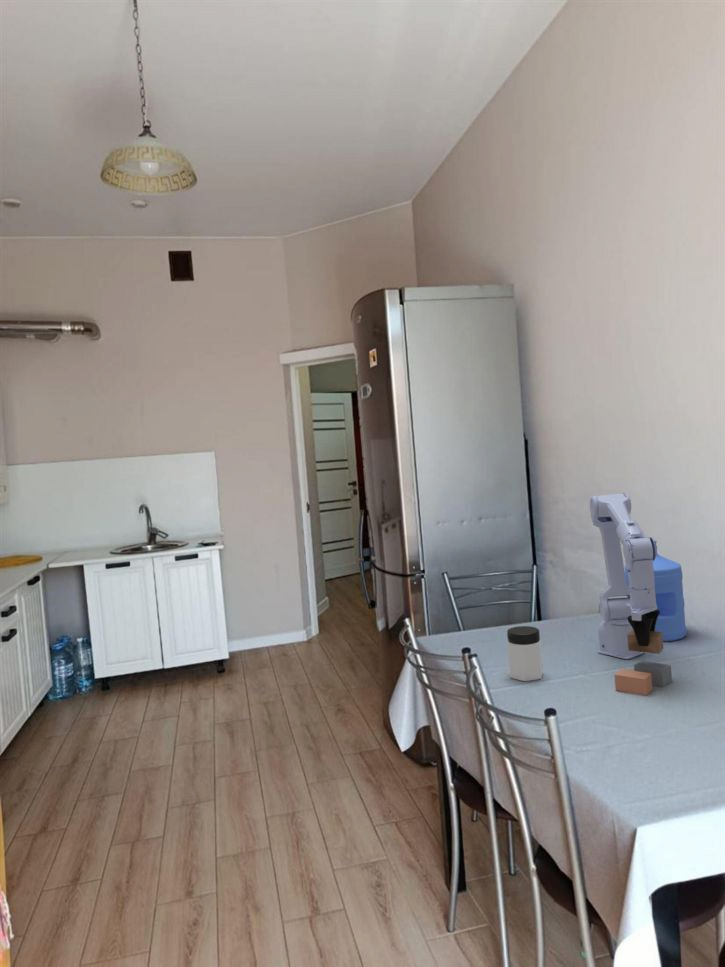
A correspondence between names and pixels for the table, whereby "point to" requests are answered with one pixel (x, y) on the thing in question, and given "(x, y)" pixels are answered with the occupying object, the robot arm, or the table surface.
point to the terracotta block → (633, 681)
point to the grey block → (655, 671)
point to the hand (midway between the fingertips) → (646, 642)
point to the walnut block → (654, 642)
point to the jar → (525, 653)
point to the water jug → (668, 598)
